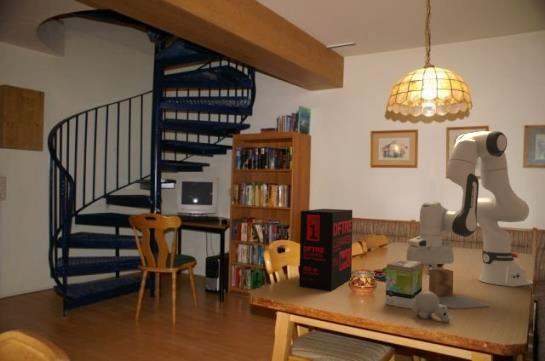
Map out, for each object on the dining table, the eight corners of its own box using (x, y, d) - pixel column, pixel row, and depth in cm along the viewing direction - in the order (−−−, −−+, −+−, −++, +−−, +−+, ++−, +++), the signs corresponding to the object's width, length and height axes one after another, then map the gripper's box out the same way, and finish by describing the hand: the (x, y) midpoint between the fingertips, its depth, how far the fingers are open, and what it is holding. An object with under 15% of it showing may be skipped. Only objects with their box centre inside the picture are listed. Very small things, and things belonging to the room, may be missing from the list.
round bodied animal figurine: (440, 333, 125) (451, 310, 123) (407, 310, 133) (416, 288, 131) (449, 327, 130) (460, 305, 128) (417, 306, 138) (426, 284, 136)
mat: (463, 296, 159) (463, 295, 159) (490, 307, 146) (490, 305, 146) (427, 298, 156) (427, 297, 156) (451, 309, 142) (451, 308, 142)
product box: (331, 291, 163) (332, 212, 164) (299, 286, 170) (300, 210, 171) (351, 279, 187) (352, 209, 187) (322, 275, 193) (323, 208, 194)
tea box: (413, 309, 141) (413, 267, 141) (384, 304, 146) (385, 263, 146) (422, 300, 154) (423, 261, 154) (395, 295, 159) (396, 258, 159)
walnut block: (446, 294, 163) (446, 269, 163) (452, 296, 159) (453, 271, 160) (428, 294, 161) (429, 269, 162) (435, 297, 158) (435, 271, 158)
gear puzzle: (388, 269, 214) (389, 261, 214) (419, 274, 203) (419, 266, 203) (359, 278, 190) (359, 270, 190) (392, 284, 180) (392, 275, 180)
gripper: (447, 240, 173) (447, 272, 173) (404, 240, 168) (404, 273, 168) (457, 242, 167) (457, 275, 167) (413, 242, 162) (412, 277, 162)
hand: (430, 274), depth 167 cm, fingers closed
